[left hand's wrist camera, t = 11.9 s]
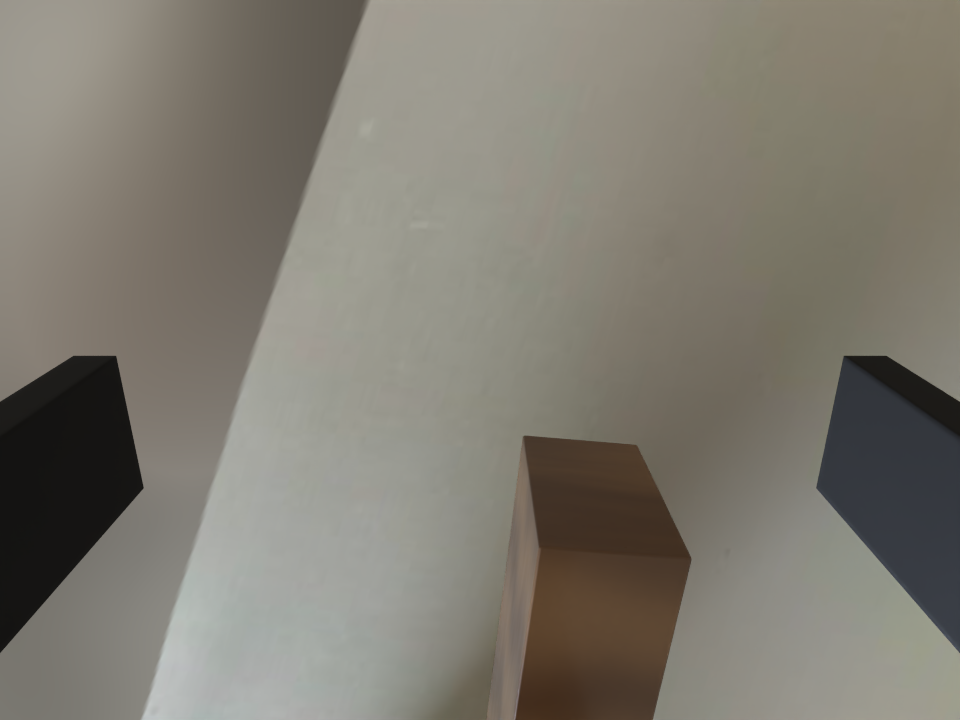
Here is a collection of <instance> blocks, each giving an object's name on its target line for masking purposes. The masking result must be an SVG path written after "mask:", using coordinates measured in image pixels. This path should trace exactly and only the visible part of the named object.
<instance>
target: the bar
mask: <svg viewBox="0 0 960 720" xmlns="http://www.w3.org/2000/svg"><path fill="white" fill-rule="evenodd" d="M690 563H691V556H690V554H689V552H688V550H687V548H686V546H685V544H684V542H683V540H682V538H681V536H680V534H679V531H678V529H677V527H676V525H675V523H674V521H673V519H672V517H671V515H670V513H669V511H668V509H667V507H666V504H665V502H664V500H663V498H662V496H661V494H660V492H659V490H658V488H657V486H656V484H655V482H654V480H653V478H652V475H651V473H650V471H649V469H648V467H647V465H646V463H645V461H644V459H643V457H642V455H641V453H640V451H639V448H638V446H637V445H631V444H619V443H607V442H595V441H583V440H571V439H559V438H547V437H535V436H524V437H523V441H522V448H521V456H520V464H519V471H518V479H517V487H516V495H515V502H514V510H513V518H512V526H511V533H510V541H509V549H508V557H507V564H506V572H505V580H504V588H503V595H502V603H501V611H500V619H499V626H498V634H497V642H496V650H495V657H494V665H493V673H492V681H491V688H490V696H489V704H488V712H487V719H486V720H653V716H654V712H655V708H656V704H657V700H658V696H659V691H660V687H661V683H662V679H663V675H664V671H665V667H666V662H667V658H668V654H669V650H670V646H671V642H672V638H673V634H674V629H675V625H676V621H677V617H678V613H679V609H680V605H681V601H682V596H683V592H684V588H685V584H686V580H687V576H688V572H689V568H690Z"/></svg>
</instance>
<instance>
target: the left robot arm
mask: <svg viewBox="0 0 960 720" xmlns="http://www.w3.org/2000/svg"><path fill="white" fill-rule="evenodd" d="M816 488H817V489H818V491H819V492H820V493H821V494H822V495H823V496H824V497H825V499H826V500H827V501H828V502H829V503H830V504H831V505H832V507H833V508H834V509H835V510H836V511H837V512H838V514H839V515H840V516H841V517H842V518H843V519H844V520H845V522H846V523H847V524H848V525H849V526H850V527H851V528H852V530H853V531H854V532H855V533H856V534H857V535H858V537H859V538H860V539H861V540H862V541H863V542H864V543H865V545H866V546H867V547H868V548H869V549H870V550H871V551H872V553H873V554H874V555H875V556H876V557H877V558H878V559H879V561H880V562H881V563H882V564H883V565H884V566H885V568H886V569H887V570H888V571H889V572H890V573H891V574H892V576H893V577H894V578H895V579H896V580H897V581H898V582H899V584H900V585H901V586H902V587H903V588H904V589H905V591H906V592H907V593H908V594H909V595H910V596H911V597H912V599H913V600H914V601H915V602H916V603H917V604H918V605H919V607H920V608H921V609H922V610H923V611H924V612H925V613H926V615H927V616H928V617H929V618H930V619H931V620H932V622H933V623H934V624H935V625H936V626H937V627H938V628H939V630H940V631H941V632H942V633H943V634H944V635H945V636H946V638H947V639H948V640H949V641H950V642H951V643H952V645H953V646H954V647H955V648H956V649H957V650H958V651H959V653H960V402H959V401H958V400H956V399H954V398H953V397H951V396H950V395H948V394H946V393H945V392H943V391H942V390H940V389H938V388H937V387H935V386H934V385H932V384H930V383H929V382H927V381H926V380H924V379H922V378H921V377H919V376H918V375H916V374H914V373H913V372H911V371H910V370H908V369H907V368H905V367H903V366H902V365H900V364H899V363H897V362H895V361H894V360H892V359H891V358H889V357H887V356H844V358H843V363H842V368H841V372H840V377H839V382H838V387H837V392H836V396H835V401H834V406H833V411H832V415H831V420H830V425H829V430H828V435H827V439H826V444H825V449H824V454H823V459H822V463H821V468H820V473H819V478H818V483H817V487H816ZM142 489H143V483H142V478H141V473H140V468H139V463H138V459H137V454H136V449H135V444H134V439H133V435H132V430H131V425H130V420H129V416H128V411H127V406H126V401H125V396H124V392H123V387H122V382H121V377H120V372H119V368H118V363H117V358H116V356H73V357H71V358H69V359H68V360H66V361H65V362H63V363H61V364H60V365H58V366H57V367H55V368H53V369H52V370H50V371H49V372H47V373H46V374H44V375H42V376H41V377H39V378H38V379H36V380H34V381H33V382H31V383H30V384H28V385H26V386H25V387H23V388H22V389H20V390H18V391H17V392H15V393H14V394H12V395H10V396H9V397H7V398H6V399H4V400H2V401H1V402H0V652H1V651H2V650H3V649H4V648H5V647H6V646H7V645H8V643H9V642H10V641H11V640H12V639H13V638H14V636H15V635H16V634H17V633H18V632H19V631H20V630H21V628H22V627H23V626H24V625H25V624H26V623H27V621H28V620H29V619H30V618H31V617H32V616H33V615H34V613H35V612H36V611H37V610H38V609H39V608H40V607H41V605H42V604H43V603H44V602H45V601H46V600H47V599H48V597H49V596H50V595H51V594H52V593H53V592H54V590H55V589H56V588H57V587H58V586H59V585H60V584H61V582H62V581H63V580H64V579H65V578H66V577H67V575H68V574H69V573H70V572H71V571H72V570H73V569H74V568H75V566H76V565H77V564H78V563H79V562H80V561H81V559H82V558H83V557H84V556H85V555H86V554H87V553H88V551H89V550H90V549H91V548H92V547H93V546H94V545H95V543H96V542H97V541H98V540H99V539H100V538H101V537H102V535H103V534H104V533H105V532H106V531H107V530H108V528H109V527H110V526H111V525H112V524H113V523H114V522H115V520H116V519H117V518H118V517H119V516H120V515H121V514H122V512H123V511H124V510H125V509H126V508H127V507H128V505H129V504H130V503H131V502H132V501H133V500H134V499H135V497H136V496H137V495H138V494H139V493H140V492H141V490H142Z"/></svg>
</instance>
